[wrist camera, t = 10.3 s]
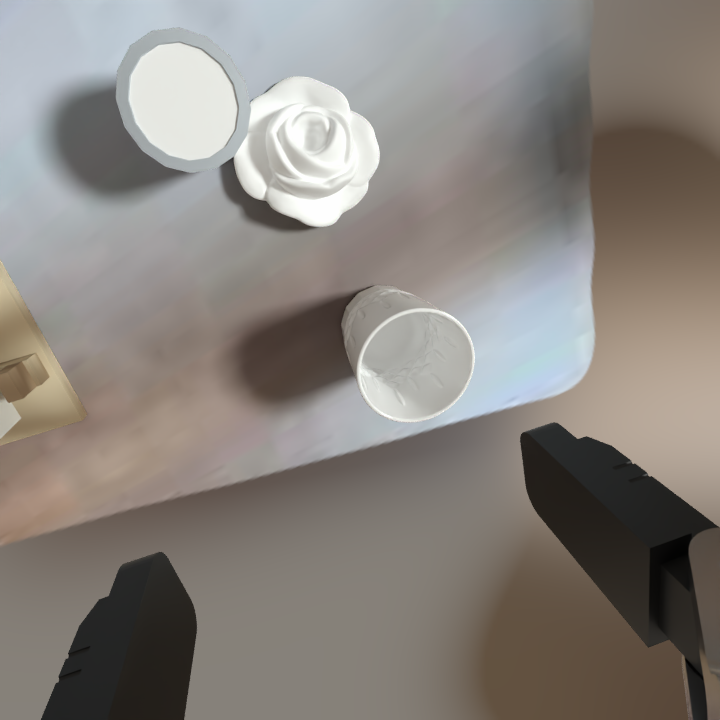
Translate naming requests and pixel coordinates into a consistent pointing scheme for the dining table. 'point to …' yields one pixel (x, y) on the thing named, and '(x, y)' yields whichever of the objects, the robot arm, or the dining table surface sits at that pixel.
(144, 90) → the white short tapered cylinder
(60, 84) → the dining table surface
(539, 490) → the robot arm
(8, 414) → the white rectangular block
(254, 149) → the rose
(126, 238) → the dining table surface
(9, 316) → the rack
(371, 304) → the white cup
